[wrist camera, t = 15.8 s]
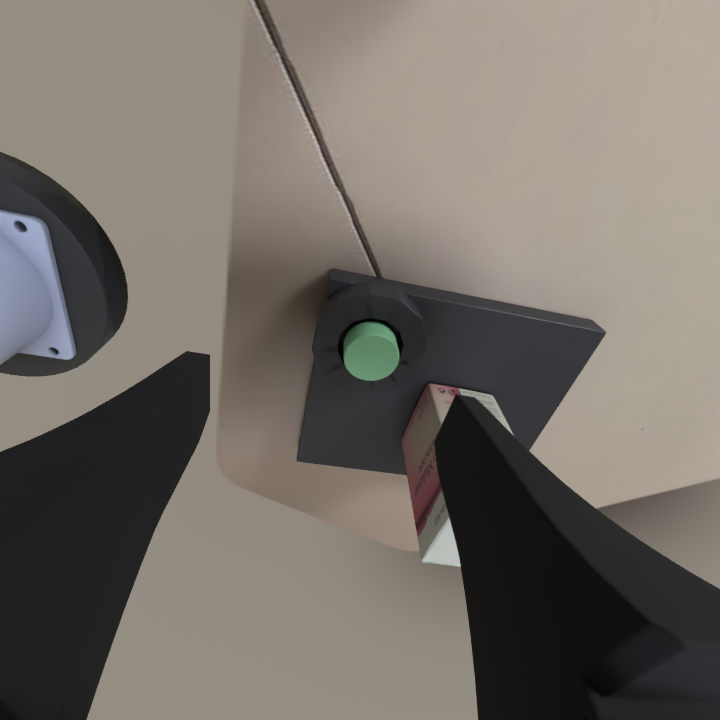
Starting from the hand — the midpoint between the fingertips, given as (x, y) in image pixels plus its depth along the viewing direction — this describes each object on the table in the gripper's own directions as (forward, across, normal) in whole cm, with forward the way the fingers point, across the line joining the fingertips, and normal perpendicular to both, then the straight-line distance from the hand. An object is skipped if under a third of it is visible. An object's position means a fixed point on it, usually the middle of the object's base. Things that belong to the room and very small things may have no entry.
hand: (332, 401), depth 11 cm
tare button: (+7, -2, +2) cm, 8 cm away
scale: (+10, -7, +6) cm, 14 cm away
